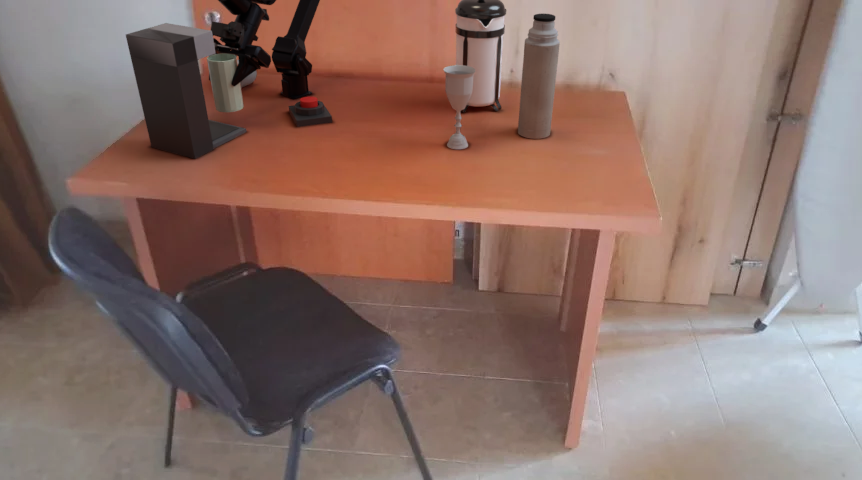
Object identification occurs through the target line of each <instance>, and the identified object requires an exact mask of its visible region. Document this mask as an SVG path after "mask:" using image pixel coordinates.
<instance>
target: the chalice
mask: <svg viewBox="0 0 862 480" xmlns="http://www.w3.org/2000/svg"><path fill="white" fill-rule="evenodd" d="M442 71H443V72H444V74H445V81H444V83H445V85H444V86H445V87H444V91H445V94H446V98H447V100H448V102H449V104H450V106H451V108H452V110H454V111H455V113H456V114H455V117H454V119H455V124H454V125H453V127H455V133H453V134H452V135H451V136H450V137H449V139H448V141H447V143H446V147H448V148H449V149H452V150H464V149H467V148H468V147H469V143H468V140H467V138H466V135H464V134H463V133H461V128H462V127H463V125H462V124H461V120H462V119H463V117H462V115H461V113H462V112H461V110H463V109H465V107H466V105H467V103H468V101H469V100H470V97H471V94H472V92H473V75H474V73H475V71H476V69H475V68H473V67H470V66H464V65H456V64H454V65H447V66H445V67H444V68H443V70H442Z"/></svg>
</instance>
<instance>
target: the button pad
mask: <svg viewBox="0 0 862 480" xmlns="http://www.w3.org/2000/svg"><path fill="white" fill-rule="evenodd" d="M317 101H318V106H317V107H314V108H303V107H301V106H300V101H297V102H296V103H295V104H294V105H288V113H289V115H290V117H291V119H292V121H293V123H294V124H295V126H296V128H301V127H307V126H316V125H323V124H330V123H331V124H332V123H333V115H332V114H331V112H330V111H329V109H328V108H327V107H326V105H325V103H324V102H323V101H321V100H318V99H317Z"/></svg>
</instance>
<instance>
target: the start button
mask: <svg viewBox="0 0 862 480" xmlns="http://www.w3.org/2000/svg"><path fill="white" fill-rule="evenodd" d="M317 100H318V98H317V97H316V96H312V95H311V96H310V95H307V96H304V97H301V98H299V102H300V106H301V107H303V108H314V107H317V106H318V101H319V100H318V101H317Z"/></svg>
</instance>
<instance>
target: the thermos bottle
mask: <svg viewBox="0 0 862 480" xmlns="http://www.w3.org/2000/svg"><path fill="white" fill-rule="evenodd" d="M532 19H533V21H532V27H530V28H529V29H528V33H527V37H526V38H525V39H524V45H523V47H524V48H523V59H522V70H521V71H522V72H521V85H520V96H519V111H518V122H517V125H518V126H517V133H518V135H520V137H523V138H527V139H532V140H533V139H535V140H539V139H540V140H541V139H545V138H548V137H549V136H550V135H551V132H552V131H551V130H552V120H553V110H554V101H555V93H556V81H557V74H558V63H559V54H560V45H561V44H560V43H561V41H560V40H559V39H558V36H559V33H558V32H559V31H558V30H557V28H555V25H556V24H555V23H556V22H555V20H556V15H554V14H551V13H536V14H533V18H532Z"/></svg>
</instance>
